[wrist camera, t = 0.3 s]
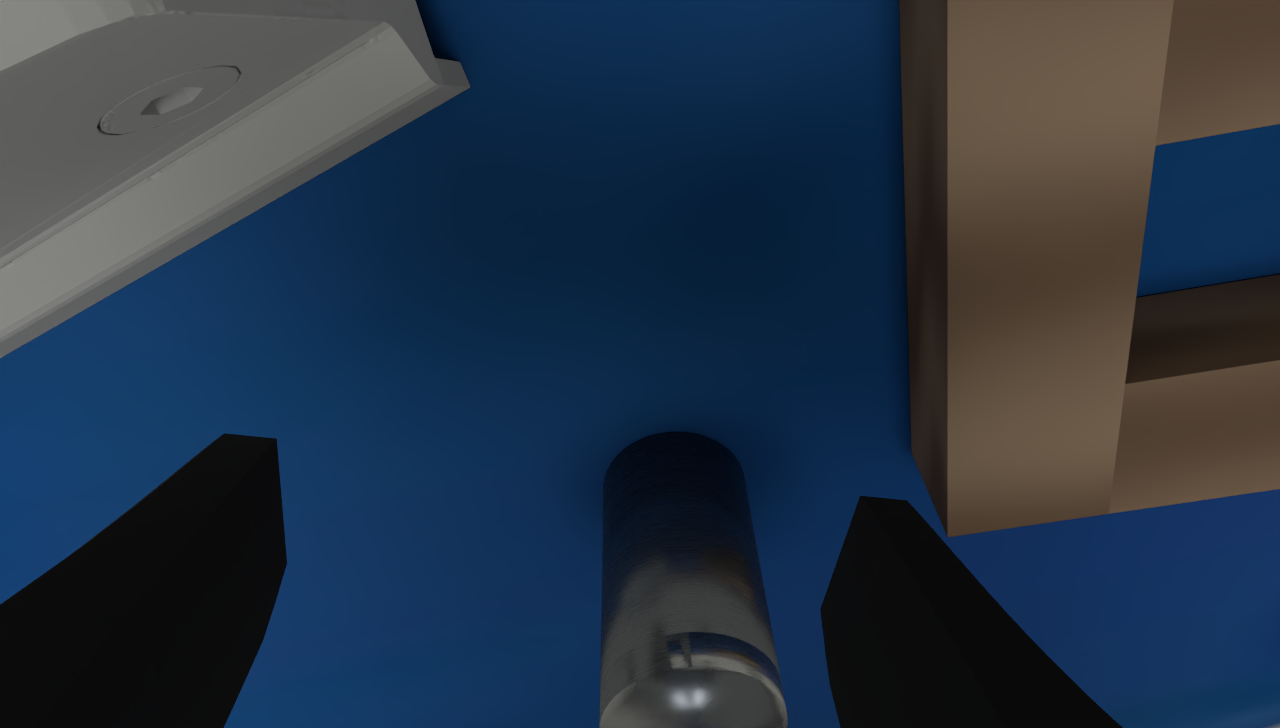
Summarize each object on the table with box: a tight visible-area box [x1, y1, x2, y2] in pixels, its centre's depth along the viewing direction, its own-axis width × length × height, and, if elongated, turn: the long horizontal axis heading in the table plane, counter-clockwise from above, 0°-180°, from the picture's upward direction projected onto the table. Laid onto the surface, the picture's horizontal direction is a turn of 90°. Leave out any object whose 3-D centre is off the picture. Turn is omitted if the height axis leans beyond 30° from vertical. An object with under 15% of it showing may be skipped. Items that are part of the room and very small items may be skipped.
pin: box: [600, 432, 788, 728], centre depth 21 cm, size 4×4×7 cm
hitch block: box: [899, 0, 1280, 537], centre depth 18 cm, size 12×12×3 cm
